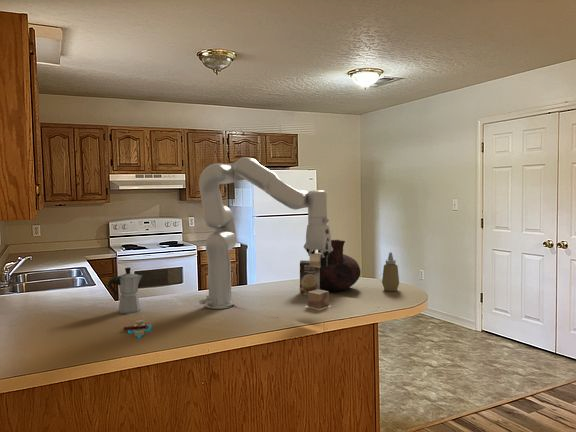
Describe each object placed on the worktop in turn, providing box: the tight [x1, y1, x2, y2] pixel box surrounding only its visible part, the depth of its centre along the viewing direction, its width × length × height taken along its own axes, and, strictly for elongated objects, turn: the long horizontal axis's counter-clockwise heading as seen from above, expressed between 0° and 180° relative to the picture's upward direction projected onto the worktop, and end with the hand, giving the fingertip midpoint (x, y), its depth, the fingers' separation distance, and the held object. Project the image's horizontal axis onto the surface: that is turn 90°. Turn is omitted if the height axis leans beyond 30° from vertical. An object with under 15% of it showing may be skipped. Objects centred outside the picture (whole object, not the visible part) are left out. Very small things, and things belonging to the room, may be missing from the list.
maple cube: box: [308, 252, 322, 268], centre depth 187 cm, size 5×5×5 cm
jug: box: [317, 239, 361, 292], centre depth 224 cm, size 25×25×25 cm
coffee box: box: [299, 260, 321, 296], centre depth 210 cm, size 9×6×16 cm
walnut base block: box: [307, 289, 330, 310], centre depth 188 cm, size 6×6×6 cm
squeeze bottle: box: [381, 251, 400, 292], centre depth 219 cm, size 8×8×18 cm
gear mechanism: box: [122, 315, 152, 340], centre depth 166 cm, size 20×5×9 cm
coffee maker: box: [107, 267, 143, 315], centre depth 190 cm, size 15×9×18 cm, turn 134°
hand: (318, 265), depth 187 cm, fingers closed on maple cube, 4 cm apart
